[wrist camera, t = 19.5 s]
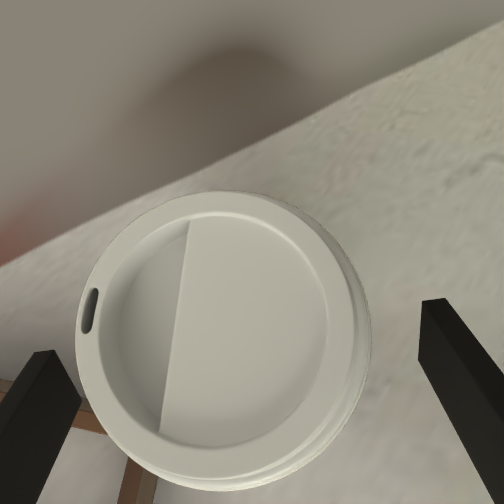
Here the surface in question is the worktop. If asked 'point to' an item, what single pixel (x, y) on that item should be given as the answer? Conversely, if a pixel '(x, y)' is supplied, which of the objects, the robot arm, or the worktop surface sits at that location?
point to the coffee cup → (223, 340)
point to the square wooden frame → (135, 477)
